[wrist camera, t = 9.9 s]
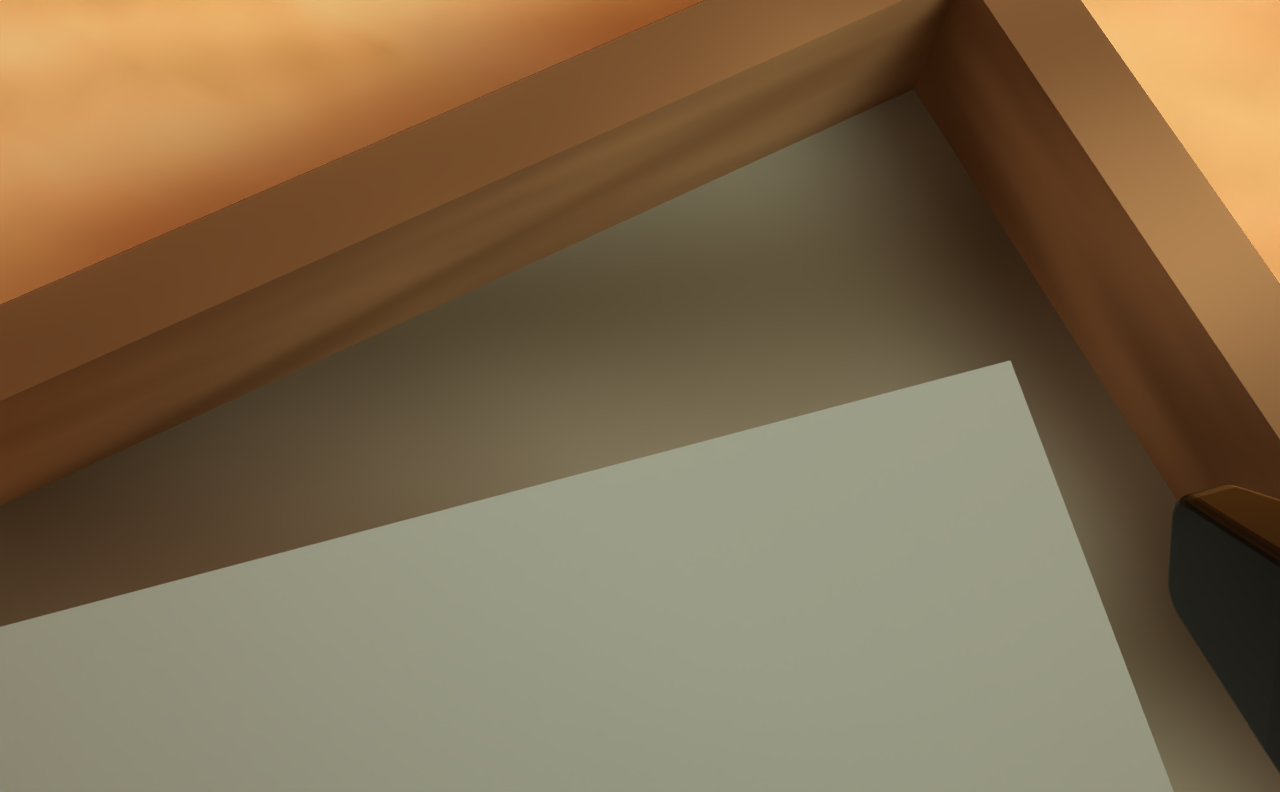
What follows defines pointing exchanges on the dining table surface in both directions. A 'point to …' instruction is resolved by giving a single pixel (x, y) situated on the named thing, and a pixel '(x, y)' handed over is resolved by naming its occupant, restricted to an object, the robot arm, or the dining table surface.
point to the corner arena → (673, 310)
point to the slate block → (631, 634)
